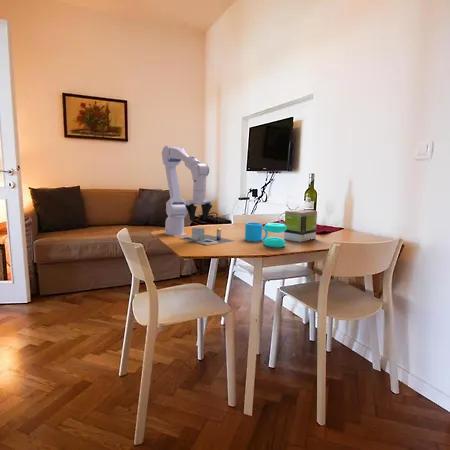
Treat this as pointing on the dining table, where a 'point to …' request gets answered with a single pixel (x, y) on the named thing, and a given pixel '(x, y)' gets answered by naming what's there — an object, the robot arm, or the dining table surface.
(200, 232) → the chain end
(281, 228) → the donuts
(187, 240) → the mat
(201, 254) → the dining table surface
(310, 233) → the tea box
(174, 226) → the robot arm
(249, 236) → the mug
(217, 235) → the pin
